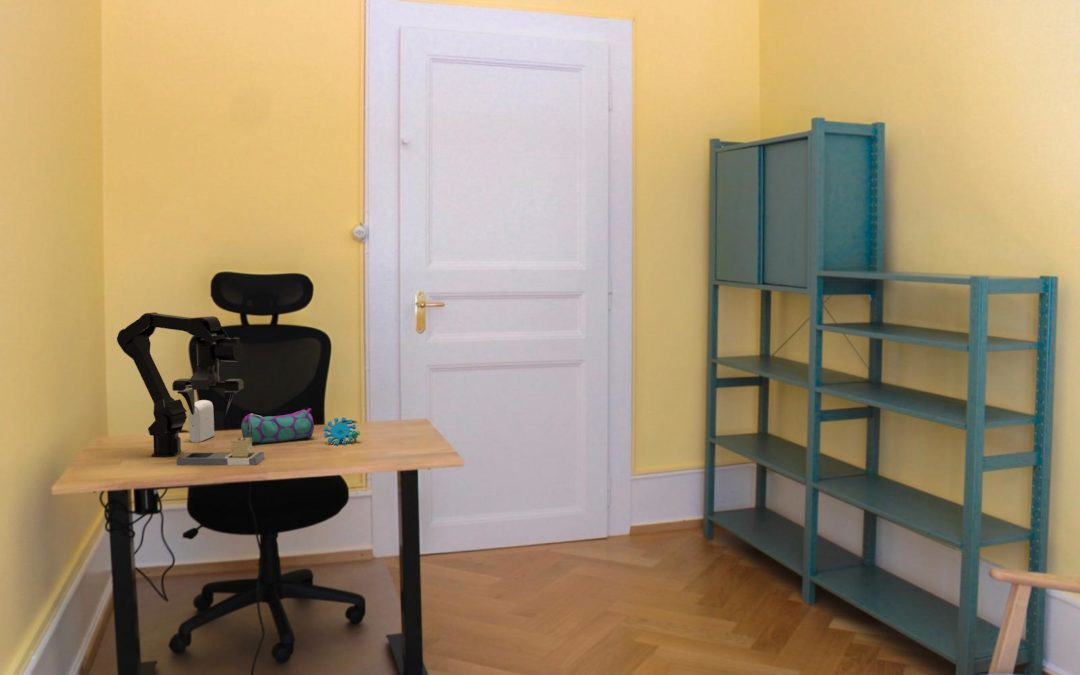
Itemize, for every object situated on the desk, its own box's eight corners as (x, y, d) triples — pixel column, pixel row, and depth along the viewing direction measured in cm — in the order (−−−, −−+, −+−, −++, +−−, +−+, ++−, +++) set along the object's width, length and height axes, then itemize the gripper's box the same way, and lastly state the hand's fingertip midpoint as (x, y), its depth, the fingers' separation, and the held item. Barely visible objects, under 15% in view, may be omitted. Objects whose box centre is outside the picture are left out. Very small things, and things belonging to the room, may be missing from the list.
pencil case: (248, 447, 291) (247, 416, 290) (241, 442, 298) (240, 411, 298) (315, 440, 301) (314, 410, 300) (306, 435, 309) (306, 406, 308)
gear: (319, 440, 293) (328, 413, 299) (321, 450, 297) (329, 424, 304) (355, 445, 292) (363, 418, 299) (356, 455, 297) (364, 429, 303)
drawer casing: (176, 464, 266) (176, 457, 266) (187, 458, 274) (186, 451, 274) (256, 464, 267) (256, 457, 266) (264, 458, 275) (264, 451, 274)
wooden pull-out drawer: (232, 463, 268) (231, 439, 268) (236, 460, 273) (236, 436, 272) (247, 463, 268) (247, 439, 268) (252, 460, 273) (251, 436, 272)
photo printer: (200, 442, 297) (199, 403, 296) (187, 442, 297) (186, 403, 296) (216, 436, 307) (215, 398, 306) (203, 436, 307) (202, 397, 306)
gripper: (164, 363, 265) (165, 419, 267) (232, 364, 266) (233, 419, 267) (178, 359, 277) (180, 412, 278) (243, 359, 277) (244, 412, 278)
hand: (209, 414), depth 275 cm, fingers open, 9 cm apart
